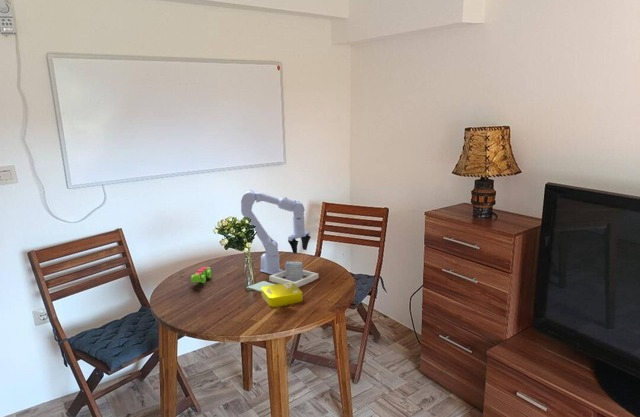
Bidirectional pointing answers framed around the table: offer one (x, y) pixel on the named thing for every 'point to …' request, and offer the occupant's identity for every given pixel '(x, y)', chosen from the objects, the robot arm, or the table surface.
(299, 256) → the table surface
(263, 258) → the robot arm
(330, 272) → the table surface
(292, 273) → the medicine box
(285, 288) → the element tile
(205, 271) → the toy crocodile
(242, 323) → the table surface
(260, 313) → the table surface
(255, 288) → the mat
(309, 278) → the white square frame
